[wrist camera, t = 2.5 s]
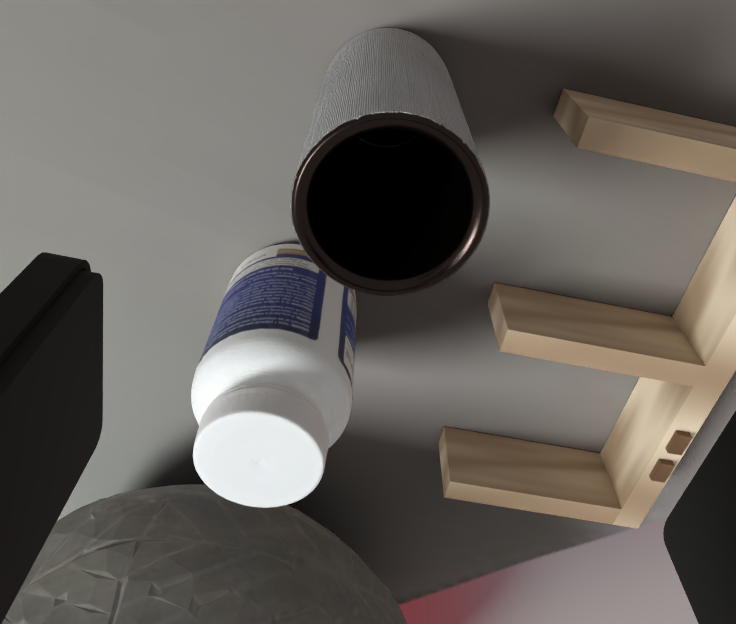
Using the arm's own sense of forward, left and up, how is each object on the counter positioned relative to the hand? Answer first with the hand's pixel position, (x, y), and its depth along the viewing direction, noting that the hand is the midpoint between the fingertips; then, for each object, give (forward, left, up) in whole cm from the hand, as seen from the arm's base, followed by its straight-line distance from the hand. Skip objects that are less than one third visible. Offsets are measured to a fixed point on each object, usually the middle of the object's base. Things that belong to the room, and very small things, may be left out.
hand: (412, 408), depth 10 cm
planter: (0, 0, -17) cm, 17 cm away
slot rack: (+7, +10, -17) cm, 21 cm away
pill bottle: (+9, -2, -17) cm, 19 cm away
